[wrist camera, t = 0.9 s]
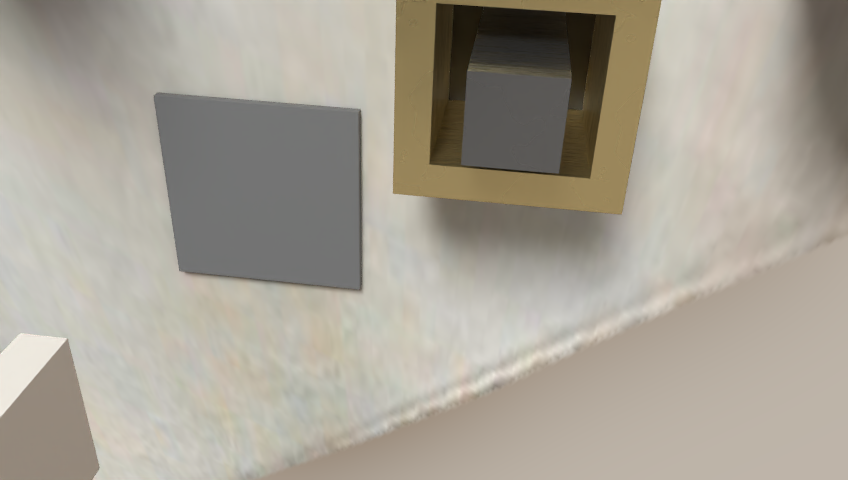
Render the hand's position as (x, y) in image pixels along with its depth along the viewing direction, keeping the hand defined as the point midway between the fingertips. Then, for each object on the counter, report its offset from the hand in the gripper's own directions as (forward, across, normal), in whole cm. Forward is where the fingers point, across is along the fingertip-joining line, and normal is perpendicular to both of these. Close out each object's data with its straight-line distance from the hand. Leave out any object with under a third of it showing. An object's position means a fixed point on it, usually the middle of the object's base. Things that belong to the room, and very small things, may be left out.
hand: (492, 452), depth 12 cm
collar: (+22, 0, 0) cm, 22 cm away
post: (+22, 0, 0) cm, 22 cm away
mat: (+22, -11, -8) cm, 26 cm away
